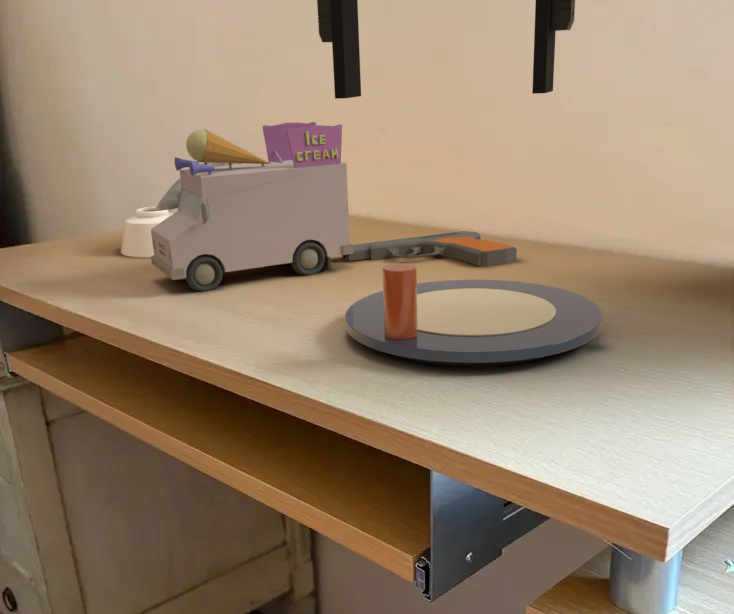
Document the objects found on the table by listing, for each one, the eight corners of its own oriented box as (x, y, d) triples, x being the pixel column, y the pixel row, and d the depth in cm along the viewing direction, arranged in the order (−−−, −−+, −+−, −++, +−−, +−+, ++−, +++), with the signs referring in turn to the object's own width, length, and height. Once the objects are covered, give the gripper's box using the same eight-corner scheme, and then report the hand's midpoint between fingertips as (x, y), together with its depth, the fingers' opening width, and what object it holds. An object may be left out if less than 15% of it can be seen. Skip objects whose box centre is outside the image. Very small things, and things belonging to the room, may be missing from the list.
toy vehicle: (152, 281, 87) (131, 131, 81) (322, 256, 95) (314, 118, 89) (176, 300, 79) (154, 136, 73) (358, 272, 87) (352, 122, 81)
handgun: (384, 283, 82) (341, 260, 93) (521, 263, 88) (466, 244, 98) (384, 265, 82) (340, 244, 92) (521, 246, 87) (466, 228, 97)
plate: (651, 315, 65) (659, 241, 63) (492, 385, 53) (494, 296, 50) (457, 277, 79) (457, 215, 76) (293, 325, 66) (288, 253, 64)
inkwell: (108, 251, 102) (95, 168, 98) (235, 230, 112) (228, 153, 108) (140, 263, 95) (128, 173, 91) (272, 239, 105) (266, 157, 102)
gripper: (204, -321, 45) (243, 102, 53) (680, -431, 36) (637, 92, 45) (268, -275, 51) (294, 96, 60) (685, -359, 43) (647, 87, 51)
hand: (441, 95), depth 52 cm, fingers open, 12 cm apart
